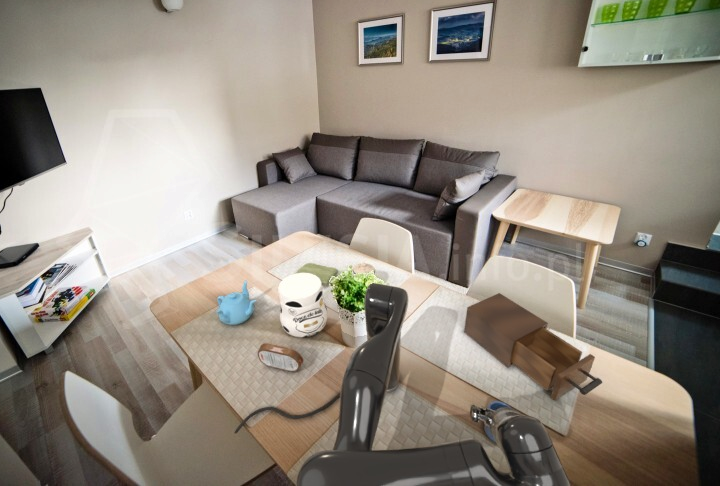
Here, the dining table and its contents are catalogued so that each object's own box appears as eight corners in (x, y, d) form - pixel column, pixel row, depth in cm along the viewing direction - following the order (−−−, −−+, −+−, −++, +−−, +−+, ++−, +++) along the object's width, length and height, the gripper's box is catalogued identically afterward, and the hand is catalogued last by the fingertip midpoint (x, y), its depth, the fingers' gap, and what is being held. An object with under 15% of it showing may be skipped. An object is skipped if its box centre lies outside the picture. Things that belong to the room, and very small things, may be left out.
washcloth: (306, 265, 158) (306, 259, 156) (339, 273, 150) (339, 267, 148) (291, 280, 147) (291, 274, 146) (326, 289, 139) (325, 283, 138)
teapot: (216, 310, 133) (211, 289, 128) (253, 299, 137) (248, 278, 133) (220, 334, 120) (214, 312, 116) (260, 320, 125) (256, 299, 120)
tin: (304, 368, 103) (302, 348, 100) (301, 376, 101) (298, 356, 97) (262, 358, 108) (258, 339, 105) (258, 365, 106) (254, 346, 102)
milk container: (311, 349, 110) (306, 307, 103) (272, 331, 119) (264, 292, 111) (336, 317, 123) (333, 277, 116) (299, 303, 132) (294, 266, 124)
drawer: (603, 392, 88) (613, 368, 84) (571, 414, 83) (580, 390, 79) (532, 342, 104) (538, 321, 100) (502, 359, 99) (507, 337, 96)
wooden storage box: (540, 349, 103) (548, 323, 98) (507, 368, 98) (514, 341, 93) (494, 317, 117) (499, 292, 112) (463, 332, 112) (467, 307, 107)
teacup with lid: (369, 296, 133) (369, 272, 128) (349, 290, 138) (348, 266, 133) (381, 280, 142) (381, 257, 137) (362, 275, 147) (361, 252, 142)
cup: (499, 448, 78) (504, 429, 75) (478, 426, 83) (482, 407, 80) (516, 437, 80) (521, 417, 77) (495, 416, 85) (499, 397, 82)
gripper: (470, 439, 64) (467, 424, 78) (557, 471, 58) (537, 448, 72) (474, 398, 66) (471, 390, 80) (559, 425, 60) (539, 411, 74)
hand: (502, 417), depth 76 cm, fingers open, 8 cm apart
